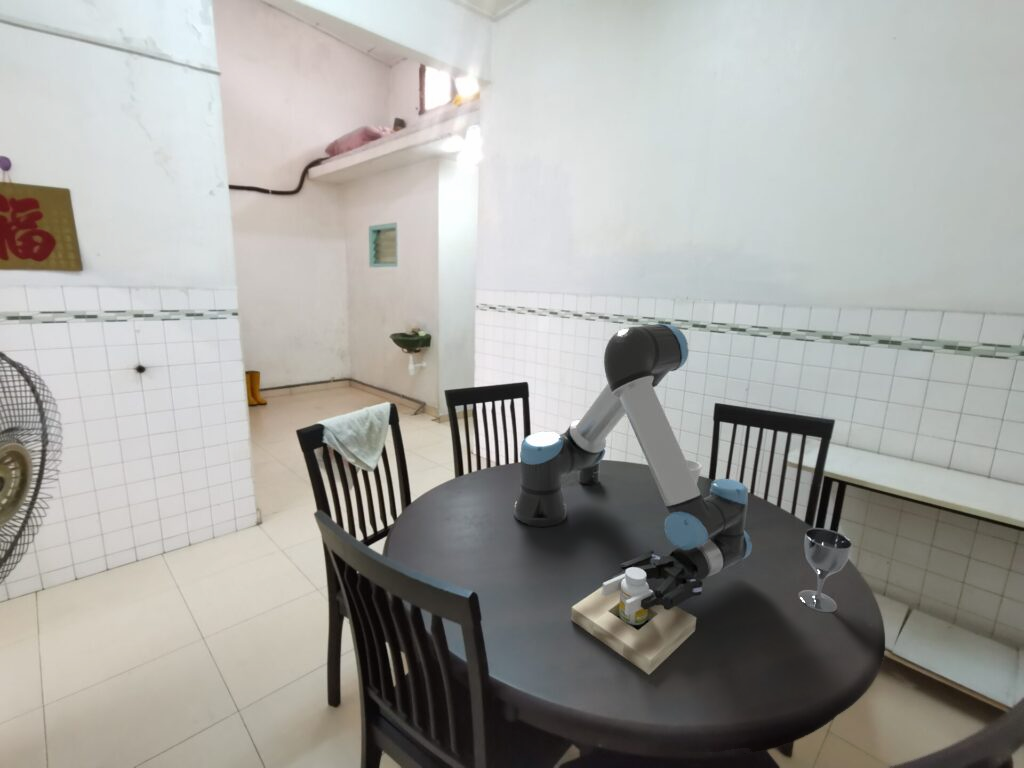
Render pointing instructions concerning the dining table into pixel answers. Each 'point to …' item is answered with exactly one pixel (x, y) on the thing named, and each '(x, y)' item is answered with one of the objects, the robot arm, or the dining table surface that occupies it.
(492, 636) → the dining table surface
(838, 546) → the wine glass
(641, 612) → the supplement bottle
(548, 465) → the robot arm
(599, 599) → the socket block
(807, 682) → the dining table surface
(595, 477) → the supplement bottle
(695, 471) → the dixie cup
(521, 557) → the dining table surface
